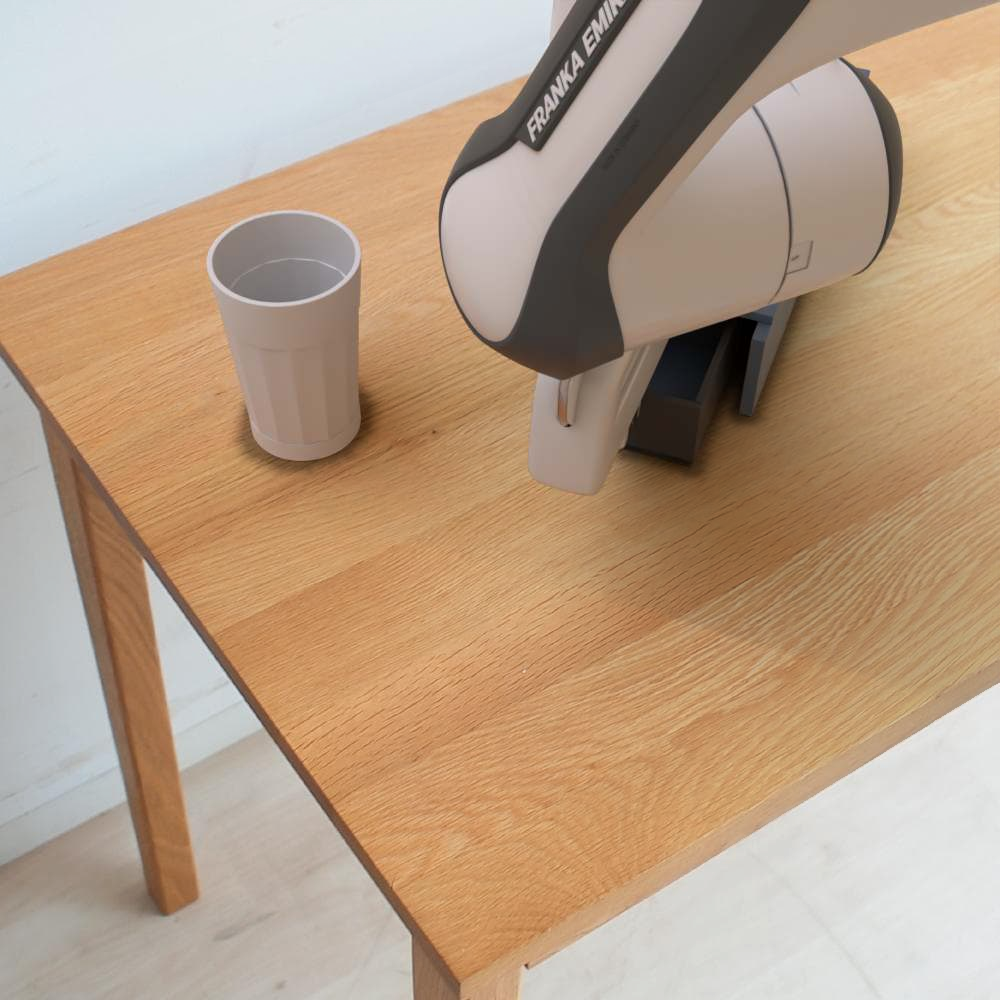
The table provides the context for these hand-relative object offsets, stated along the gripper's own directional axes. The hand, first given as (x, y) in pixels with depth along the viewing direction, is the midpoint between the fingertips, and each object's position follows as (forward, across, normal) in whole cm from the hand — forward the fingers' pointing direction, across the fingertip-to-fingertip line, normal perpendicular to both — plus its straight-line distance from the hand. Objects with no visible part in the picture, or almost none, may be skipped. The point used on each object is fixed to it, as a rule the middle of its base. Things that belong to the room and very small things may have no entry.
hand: (616, 430), depth 79 cm
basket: (+3, +6, 0) cm, 7 cm away
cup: (+3, -3, +18) cm, 18 cm away
